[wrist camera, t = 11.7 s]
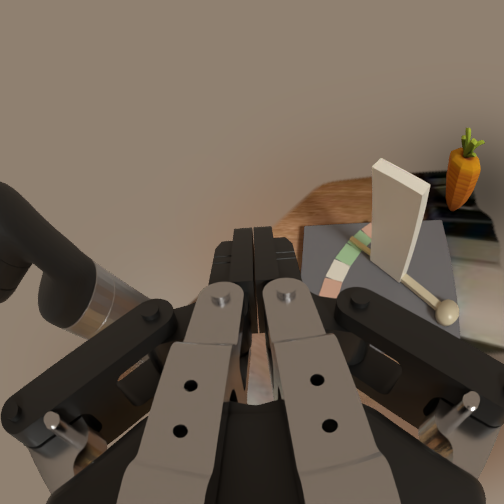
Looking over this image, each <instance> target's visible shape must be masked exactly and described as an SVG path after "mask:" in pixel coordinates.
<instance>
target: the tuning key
mask: <svg viewBox="0 0 504 504" xmlns="http://www.w3.org/2000/svg"><path fill="white" fill-rule="evenodd" d="M429 190H430V184H428V183H427V182H425V181H423V180H421V179H420V178H418V177H416V176H414V175H413V174H411V173H409V172H407V171H405V170H403V169H401V168H400V167H398V166H396V165H394V164H392V163H390V162H388V161H386V160H384V159H382V158H381V159H380V160H379V161H377V163H375V164H374V165H373V167H372V235H371V249H370V248H368V247H367V246H366V245H364V244H363V243H361V242H360V241H359V240H357V239H356V238H354V237H353V236H352V237H351V238H350V242H352V243H353V244H355V245H356V246H357V247H359V248H360V249H361V250H363V251H364V252H365V253H367V254H368V255H369V256H370V261H372V262H373V263H374V264H376V265H377V266H378V267H380V268H381V269H382V270H383V271H385V272H386V273H387V274H388V275H390V276H391V277H392V278H394V279H395V280H396V281H397V282H399V283H400V282H401V283H403V284H404V285H405V286H406V287H408V288H409V289H410V290H411V291H413V292H414V293H415V294H416V295H417V296H419V297H420V298H421V299H422V300H424V301H425V302H426V303H427V304H428V305H429V306H431V307H432V308H433V309H434V310H435V311H436V312H435V318H436V320H437V322H438V323H439V324H440V325H441V326H445V327H446V326H450V325H452V324H453V323H454V322H455V321H456V320H457V318H458V316H459V308H458V305H457V304H456V303H455V302H454V301H453V300H450V299H447V300H444V301H442V302H441V301H439V300H438V299H437V298H436V297H435V296H433V295H432V294H431V293H430V292H429V291H427V290H426V289H425V288H424V287H423V286H421V285H420V284H419V283H418V282H416V281H415V280H414V279H413V278H411V277H410V276H409V275H407V274H406V273H407V270H408V267H409V264H410V261H411V258H412V255H413V251H414V248H415V245H416V241H417V238H418V235H419V231H420V227H421V224H422V220H423V216H424V212H425V208H426V203H427V199H428V194H429Z"/></svg>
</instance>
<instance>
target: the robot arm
mask: <svg viewBox="0 0 504 504" xmlns="http://www.w3.org/2000/svg"><path fill="white" fill-rule="evenodd" d="M254 255H255V256H254ZM32 263H33V264H35V265H36V266H37V267H38V268H40V269H41V270H42V271H43V275H42V279H41V282H40V287H39V293H38V306H39V311H40V313H41V315H42V317H43V318H44V319H45V320H46V321H48V322H49V323H51V324H53V325H55V326H57V327H59V328H62V329H64V330H66V331H68V332H70V333H72V334H75V335H77V336H79V337H82V338H84V339H87V340H88V341H86V342H85V343H84V344H82V345H81V346H79V347H78V348H76V349H75V350H74V351H72V352H71V353H70V354H68V355H67V356H65V357H64V358H63V359H61V360H60V361H58V362H57V363H56V364H54V365H53V366H52V367H50V368H49V369H47V370H46V371H45V372H43V373H42V374H41V375H39V376H38V377H37V378H35V379H34V380H33V381H31V382H30V383H28V384H27V385H26V386H24V387H23V388H22V389H20V390H19V391H18V392H16V393H15V394H14V395H12V396H11V397H10V398H9V399H8V400H7V401H6V402H5V404H4V406H3V408H2V412H1V422H2V426H3V428H4V429H5V430H6V431H7V432H8V433H9V434H11V435H12V436H13V437H15V438H16V439H17V440H19V441H20V442H22V443H23V444H24V445H25V446H26V447H27V448H28V450H29V452H30V454H31V456H32V458H33V460H34V463H35V465H36V466H37V468H38V471H39V473H40V474H41V477H42V478H43V480H44V482H45V484H46V486H47V487H48V489H49V491H50V493H51V496H50V497H49V499H48V501H47V503H46V504H486V498H485V493H484V490H483V487H482V485H481V483H480V482H479V481H478V478H479V476H480V474H481V472H482V470H483V468H484V466H485V464H486V462H487V459H488V457H489V455H490V453H491V450H492V448H493V446H494V443H495V441H496V438H497V435H498V433H499V430H500V428H501V426H502V425H503V424H504V364H502V363H501V362H499V361H497V360H496V359H494V358H492V357H491V356H489V355H487V354H485V353H484V352H482V351H480V350H478V349H477V348H475V347H473V346H472V345H470V344H468V343H466V342H465V341H463V340H461V339H459V338H457V337H456V336H454V335H452V334H450V333H449V332H447V331H445V330H443V329H441V328H440V327H438V326H436V325H434V324H432V323H431V322H429V321H427V320H425V319H423V318H422V317H420V316H418V315H416V314H414V313H412V312H411V311H409V310H407V309H405V308H403V307H401V306H400V305H398V304H396V303H394V302H392V301H390V300H388V299H387V298H385V297H383V296H381V295H379V294H377V293H375V292H373V291H372V290H369V289H367V288H363V287H350V288H346V289H344V290H342V291H341V292H340V293H339V294H338V296H337V298H329V297H323V296H319V295H316V294H314V293H312V292H310V291H309V288H308V287H307V285H306V284H305V283H303V282H302V278H301V274H300V271H299V267H298V263H297V259H296V255H295V252H294V248H293V244H292V243H291V242H290V241H289V240H288V239H287V238H285V237H282V238H273V233H272V227H271V226H269V227H254V244H253V232H252V228H240V229H234V235H233V241H225V242H221V243H220V245H219V246H218V247H217V248H216V249H215V254H214V259H213V265H212V269H211V274H210V280H209V285H208V286H207V287H205V288H204V289H203V290H202V291H201V292H200V293H199V295H198V298H197V301H196V302H195V303H193V304H191V305H187V306H184V307H180V308H176V309H173V307H172V305H171V304H170V303H169V302H168V301H166V300H162V299H149V298H148V297H146V296H144V295H143V294H142V293H140V292H138V291H137V290H135V289H134V288H132V287H131V286H129V285H128V284H126V283H125V282H123V281H122V280H120V279H119V278H117V277H116V276H114V275H113V274H112V273H110V272H109V271H107V270H106V269H104V268H103V267H101V266H100V265H99V264H97V263H96V262H94V261H93V260H92V259H91V258H89V257H88V256H86V255H85V254H84V253H83V252H81V251H80V250H79V249H78V248H77V247H76V246H75V245H74V244H73V243H72V242H70V241H69V240H68V239H67V238H66V237H65V236H63V235H62V234H61V233H60V232H59V231H57V230H56V229H55V228H54V227H53V226H52V225H51V224H50V223H49V222H48V221H46V220H45V219H44V218H43V217H42V216H41V215H40V214H39V213H38V212H37V211H36V210H35V209H34V208H33V207H32V206H31V205H30V204H29V202H28V201H26V200H25V199H24V198H23V197H22V196H21V195H20V194H19V193H18V192H17V191H16V190H14V189H13V188H12V187H10V186H8V185H7V184H5V183H2V182H0V303H2V302H4V301H6V300H7V299H8V298H9V297H10V296H11V295H12V294H13V292H14V291H15V290H16V288H17V286H18V285H19V283H20V282H21V280H22V278H23V277H24V275H25V274H26V272H27V271H28V269H29V268H30V266H31V265H32ZM256 294H257V295H256ZM257 306H258V318H259V330H260V333H265V338H266V352H267V359H268V365H269V371H270V378H271V384H272V390H273V397H274V401H272V402H269V403H265V404H261V405H248V404H247V391H248V380H249V368H250V357H251V348H250V347H251V343H252V334H253V333H258V324H257ZM370 345H372V346H374V347H375V348H377V349H378V350H380V351H382V352H383V353H385V354H386V355H388V356H390V357H391V358H393V359H395V360H396V361H397V362H398V363H399V364H400V365H399V364H398V363H396V362H395V361H393V360H391V359H390V358H388V357H387V356H385V355H383V354H382V353H380V352H379V351H377V350H375V349H374V348H372V347H371V346H370ZM139 360H143V361H145V362H144V363H143V364H141V365H140V366H139V367H137V368H136V369H135V370H134V371H132V372H131V373H130V374H128V375H127V376H126V377H125V378H123V379H122V380H120V381H117V380H118V378H119V376H120V375H121V374H122V373H124V372H125V371H126V370H128V369H129V368H130V367H132V366H133V365H134V364H135V363H137V362H138V361H139ZM356 388H357V389H359V390H360V391H362V392H363V393H365V394H366V395H367V396H369V397H370V398H372V399H373V400H375V401H376V402H378V403H379V404H381V405H382V406H384V407H385V408H387V409H388V410H390V411H391V412H393V413H394V414H396V415H398V416H399V417H401V418H402V419H403V420H405V421H407V422H408V423H410V424H411V425H413V426H414V427H416V428H417V429H419V440H418V439H416V438H415V437H413V436H412V435H410V434H409V433H408V432H406V431H405V430H403V429H402V428H400V427H399V426H398V425H396V424H395V423H393V422H392V421H390V420H389V419H388V418H387V417H385V416H384V415H382V414H381V413H380V412H378V411H377V410H375V409H373V408H371V407H369V406H367V405H365V404H362V403H361V400H360V397H359V395H358V392H357V389H356ZM149 411H150V413H149V416H147V417H146V418H145V419H143V420H142V421H140V422H139V423H138V424H137V425H135V426H134V427H133V428H132V429H131V430H130V431H129V432H127V433H126V434H125V435H124V436H123V437H122V438H120V439H119V440H118V441H117V442H116V443H114V444H113V445H112V446H111V447H110V448H108V449H107V445H108V444H109V443H110V442H112V441H113V440H114V439H116V438H117V437H118V436H119V435H121V434H122V433H123V432H124V431H126V430H127V429H128V428H129V427H131V426H132V425H133V424H134V423H136V422H137V421H138V420H139V419H140V418H142V417H143V416H144V415H145V414H147V413H148V412H149Z"/></svg>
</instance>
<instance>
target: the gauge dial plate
mask: <svg viewBox="0 0 504 504" xmlns="http://www.w3.org/2000/svg"><path fill="white" fill-rule="evenodd" d="M371 235H372V222H371V223H354V224H335V225H316V226H304V242H303V256H302V269H301V278H302V282H303V283H305V284H306V285H307V287H308V288H309V291H310V292H312V293H314V294H316V295H319V296H323V297H329V298H337V296H338V294H339V293H340V292H341V291H342V290H344V289H346V288H350V287H363V288H367V289H369V290H372V291H373V292H375V293H377V294H379V295H381V296H383V297H385V298H387V299H388V300H390V301H392V302H394V303H396V304H398V305H400V306H401V307H403V308H405V309H407V310H409V311H411V312H412V313H414V314H416V315H418V316H420V317H422V318H423V319H425V320H427V321H429V322H431V323H432V324H434V325H436V326H438V327H440V328H441V329H443V330H445V331H447V332H449V333H450V334H452V335H454V336H456V337H457V338H459V339H460V327H459V316H458V318H457V320H456V321H455V322H454V323H453V324H452V325H450V326H446V327H445V326H441V325H440V324H439V323H438V322H437V320H436V318H435V312H436V311H435V310H434V309H433V308H432V307H431V306H429V305H428V304H427V303H426V302H425V301H424V300H422V299H421V298H420V297H419V296H417V295H416V294H415V293H414V292H413V291H411V290H410V289H409V288H408V287H406V286H405V285H404V284H403V283H401V282H400V283H399V282H397V281H396V280H395V279H394V278H392V277H391V276H390V275H388V274H387V273H386V272H385V271H383V270H382V269H381V268H380V267H378V266H377V265H376V264H374V263H373V262H372V261H370V256H369V255H368V254H367V253H365V252H364V251H363V250H361V249H360V248H359V247H357V246H356V245H355V244H353V243H352V242H350V238H351V237H352V236H353V237H354V238H356V239H357V240H359V241H360V242H361V243H363V244H364V245H366V246H367V247H368V248H370V249H371ZM406 274H407V275H409V276H410V277H411V278H413V279H414V280H415V281H416V282H418V283H419V284H420V285H421V286H423V287H424V288H425V289H426V290H427V291H429V292H430V293H431V294H432V295H433V296H435V297H436V298H437V299H438V300H439V301H441V302H442V301H444V300H447V299H450V300H453V301H454V302H455V303H456V304H457V296H456V289H455V282H454V276H453V270H452V264H451V259H450V254H449V249H448V245H447V240H446V236H445V232H444V228H443V224H442V220H433V221H422V224H421V227H420V231H419V235H418V238H417V241H416V245H415V248H414V251H413V255H412V258H411V261H410V264H409V267H408V270H407V273H406ZM370 346H371V347H372V348H374V349H375V350H377V351H379V352H380V353H382V354H385V353H383V352H382V351H380V350H378V349H377V348H375V347H374V346H372V345H370Z"/></svg>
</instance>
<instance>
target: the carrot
mask: <svg viewBox="0 0 504 504" xmlns="http://www.w3.org/2000/svg"><path fill="white" fill-rule="evenodd" d="M470 138H471V129H470V128H466V136H465V135H463V136H462V139H461V140H462V147H463V148H458V149H456V150H453V151H451V153H450V157H449V164H448V170H447V180H446V201H447V205H448V208H449V209H450V211H454V210H456V209H458V208H460V207H461V206H462V205H463V204H464V203H465V202H466V201H467V199H468V198H469V197H470V195H471V193H472V192H473V190H474V187H475V185H476V182H477V180H478V177H479V174H480V162H479V159H478V157H477V156H476V154H475V153H474V152H473V151H474V149H475V148H477V147H478V146H479V145H481V144H484V143H485V142H484V141H483V140H480V141H478V142H477V141H476V139H474V138H473V139H472V140H471V141H470Z"/></svg>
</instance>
